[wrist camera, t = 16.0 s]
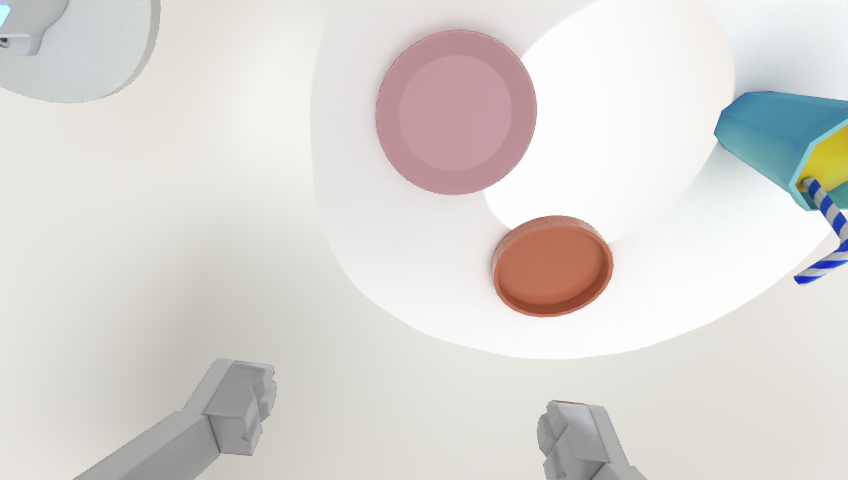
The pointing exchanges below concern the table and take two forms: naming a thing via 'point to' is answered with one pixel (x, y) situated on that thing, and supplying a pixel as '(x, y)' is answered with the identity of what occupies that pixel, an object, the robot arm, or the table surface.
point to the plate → (456, 112)
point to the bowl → (551, 266)
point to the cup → (796, 155)
